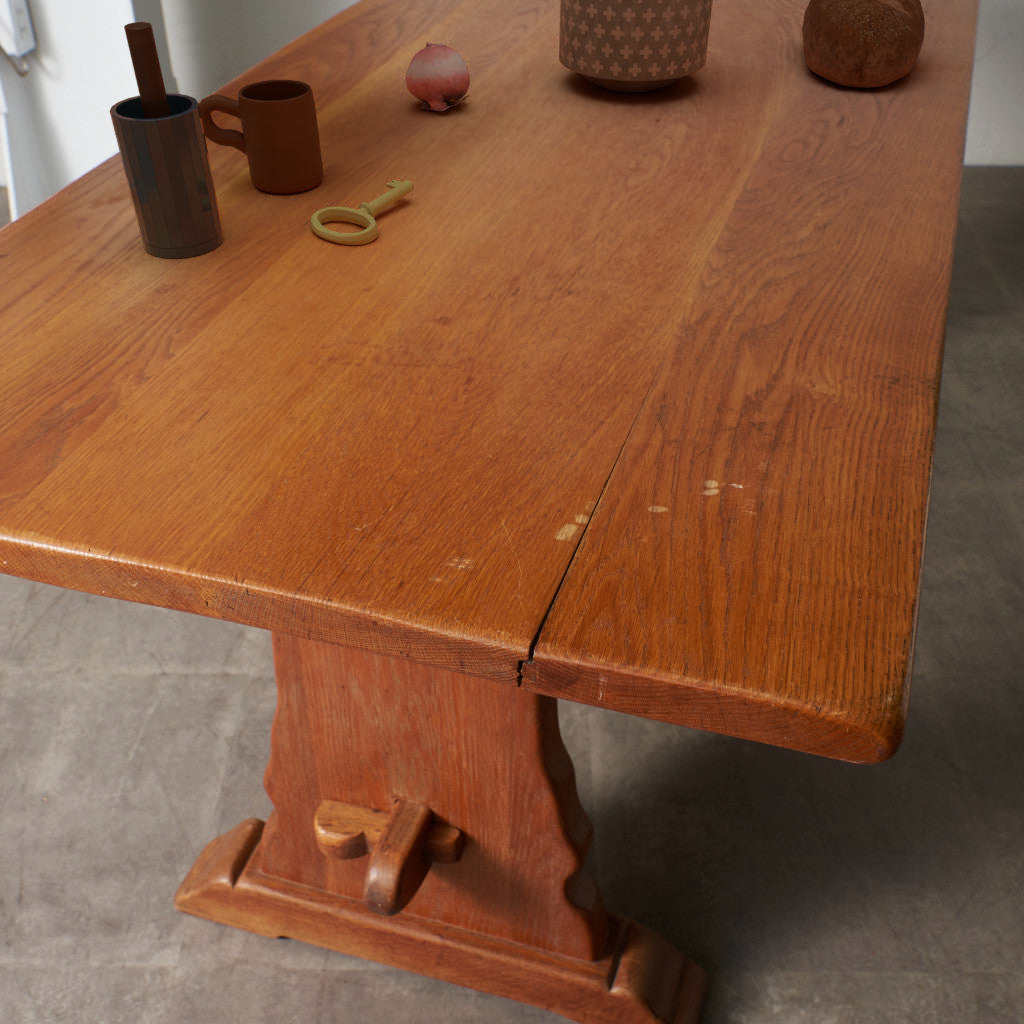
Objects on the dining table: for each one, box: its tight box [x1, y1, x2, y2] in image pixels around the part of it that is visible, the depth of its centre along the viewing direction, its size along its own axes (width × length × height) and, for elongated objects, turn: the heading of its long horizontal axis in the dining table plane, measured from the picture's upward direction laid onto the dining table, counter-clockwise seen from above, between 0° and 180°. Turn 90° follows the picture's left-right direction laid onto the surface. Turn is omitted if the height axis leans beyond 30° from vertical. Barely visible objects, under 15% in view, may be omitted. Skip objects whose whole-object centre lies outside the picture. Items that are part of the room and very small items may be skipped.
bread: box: [801, 0, 926, 89], centre depth 137 cm, size 16×29×11 cm, turn 167°
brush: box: [123, 21, 171, 119], centre depth 89 cm, size 5×5×18 cm
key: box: [310, 179, 415, 246], centre depth 99 cm, size 7×12×2 cm, turn 161°
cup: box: [109, 92, 225, 259], centre depth 92 cm, size 7×7×12 cm
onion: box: [405, 42, 471, 112], centre depth 124 cm, size 8×8×7 cm
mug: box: [198, 79, 324, 195], centre depth 104 cm, size 12×8×9 cm, turn 97°
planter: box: [558, 0, 714, 93], centre depth 127 cm, size 19×19×18 cm
